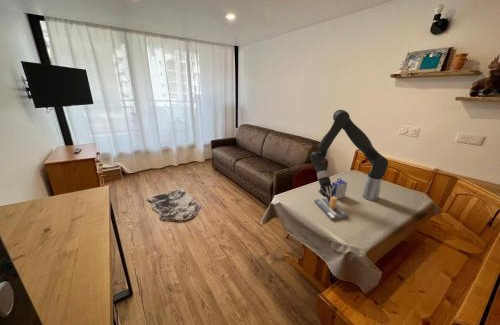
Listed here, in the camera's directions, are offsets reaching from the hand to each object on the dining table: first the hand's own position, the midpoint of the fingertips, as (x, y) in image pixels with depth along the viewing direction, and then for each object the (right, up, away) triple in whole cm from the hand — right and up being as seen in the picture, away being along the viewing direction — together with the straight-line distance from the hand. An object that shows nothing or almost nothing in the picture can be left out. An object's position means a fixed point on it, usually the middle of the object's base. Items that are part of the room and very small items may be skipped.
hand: (330, 202), depth 135 cm
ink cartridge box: (+12, +1, +17) cm, 21 cm away
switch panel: (0, -5, +1) cm, 5 cm away
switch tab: (0, -4, -1) cm, 4 cm away
